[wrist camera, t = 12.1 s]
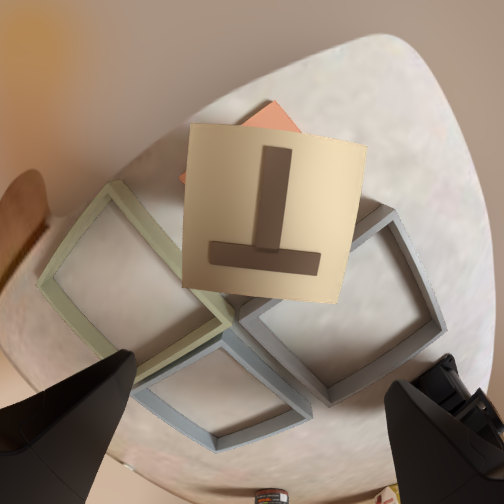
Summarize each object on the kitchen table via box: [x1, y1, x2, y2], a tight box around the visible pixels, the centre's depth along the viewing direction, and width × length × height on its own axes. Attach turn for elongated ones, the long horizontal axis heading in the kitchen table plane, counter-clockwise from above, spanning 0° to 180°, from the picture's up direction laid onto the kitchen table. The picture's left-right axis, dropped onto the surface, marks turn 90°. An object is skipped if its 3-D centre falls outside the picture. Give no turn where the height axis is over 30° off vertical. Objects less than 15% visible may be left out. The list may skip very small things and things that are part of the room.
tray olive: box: [36, 179, 235, 384], centre depth 20 cm, size 13×13×2 cm
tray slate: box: [130, 328, 313, 453], centre depth 23 cm, size 13×13×2 cm
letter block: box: [182, 123, 367, 304], centre depth 12 cm, size 5×5×10 cm
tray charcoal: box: [238, 204, 448, 408], centre depth 20 cm, size 13×13×2 cm
